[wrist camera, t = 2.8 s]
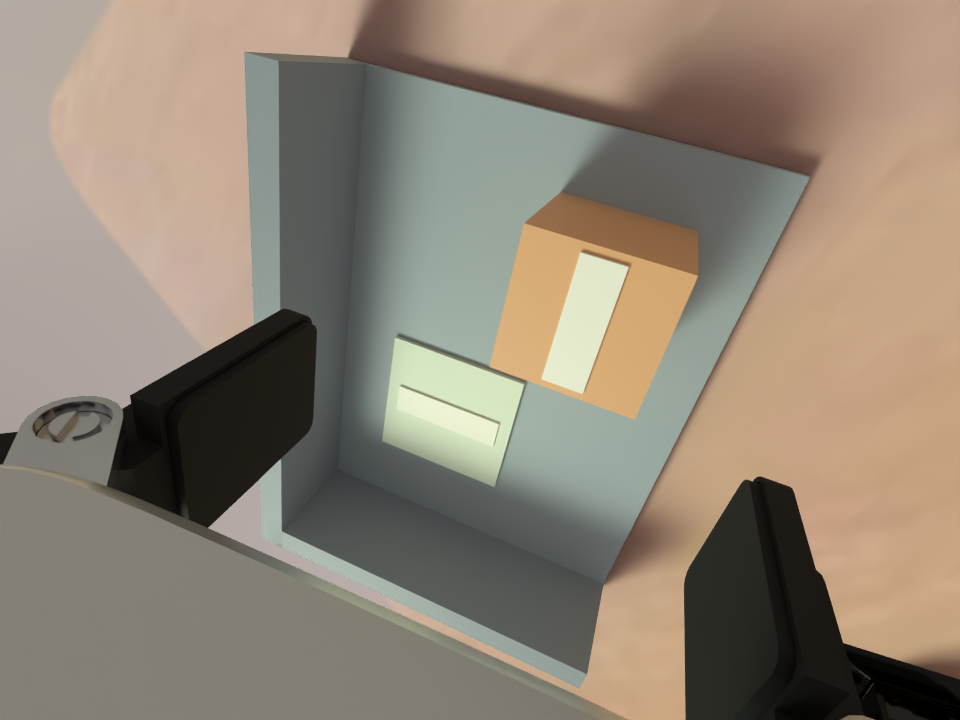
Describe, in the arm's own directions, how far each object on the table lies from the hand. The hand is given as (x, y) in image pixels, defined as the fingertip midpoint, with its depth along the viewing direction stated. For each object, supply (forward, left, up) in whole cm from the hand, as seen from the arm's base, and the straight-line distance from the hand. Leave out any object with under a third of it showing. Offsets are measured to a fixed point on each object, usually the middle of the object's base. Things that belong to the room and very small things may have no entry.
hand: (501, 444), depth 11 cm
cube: (0, +1, -11) cm, 11 cm away
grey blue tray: (+6, -3, -12) cm, 13 cm away
